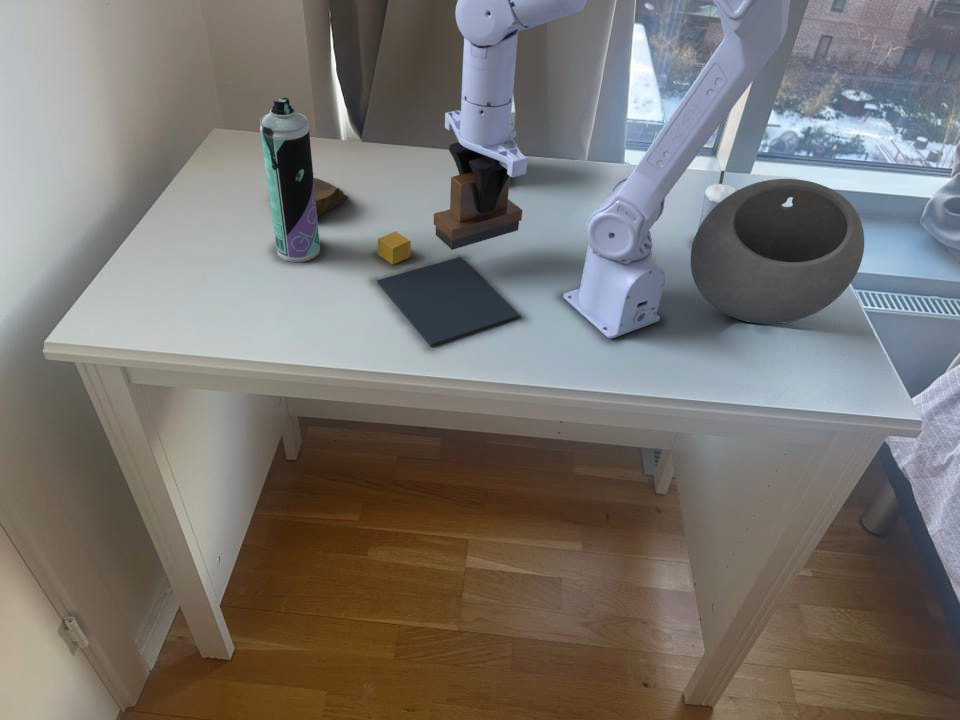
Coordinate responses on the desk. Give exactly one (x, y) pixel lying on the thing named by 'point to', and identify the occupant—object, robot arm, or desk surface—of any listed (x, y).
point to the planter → (777, 251)
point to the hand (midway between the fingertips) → (479, 205)
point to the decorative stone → (327, 196)
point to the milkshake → (715, 196)
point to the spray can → (290, 182)
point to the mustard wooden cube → (394, 247)
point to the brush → (474, 215)
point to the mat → (447, 300)
